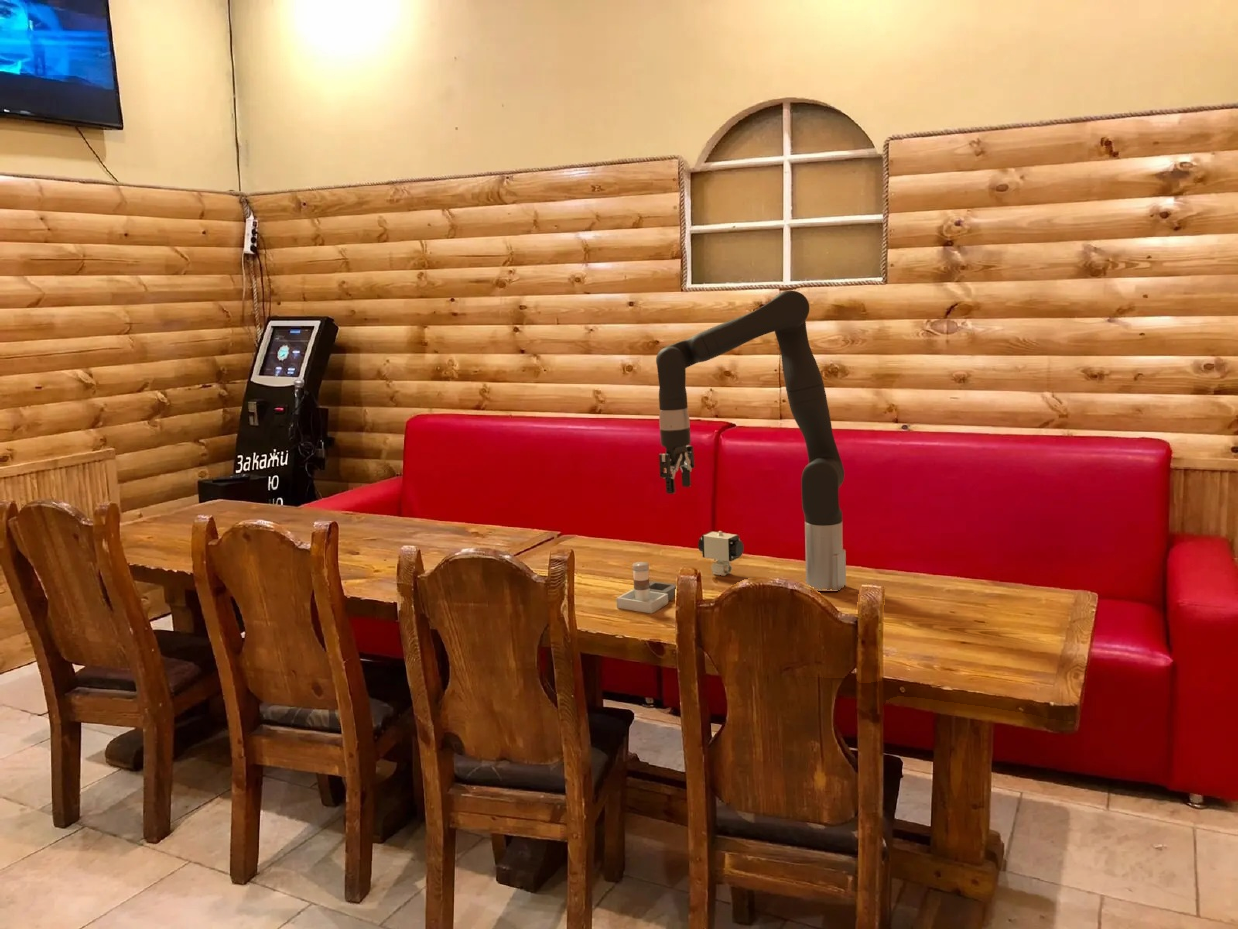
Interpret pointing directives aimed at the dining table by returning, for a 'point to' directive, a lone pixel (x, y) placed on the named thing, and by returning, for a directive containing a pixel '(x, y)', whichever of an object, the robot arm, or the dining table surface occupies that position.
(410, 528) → the dining table surface
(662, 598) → the tray
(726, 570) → the pneumatic valve
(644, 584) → the fuse
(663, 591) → the dark gray recessed holder
